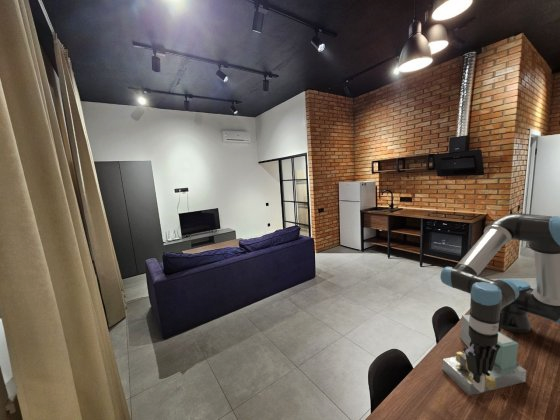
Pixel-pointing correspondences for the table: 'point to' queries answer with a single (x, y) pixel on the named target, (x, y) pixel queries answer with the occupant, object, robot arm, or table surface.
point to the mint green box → (506, 352)
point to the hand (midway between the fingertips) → (478, 388)
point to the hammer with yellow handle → (461, 358)
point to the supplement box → (465, 330)
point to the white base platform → (500, 375)
